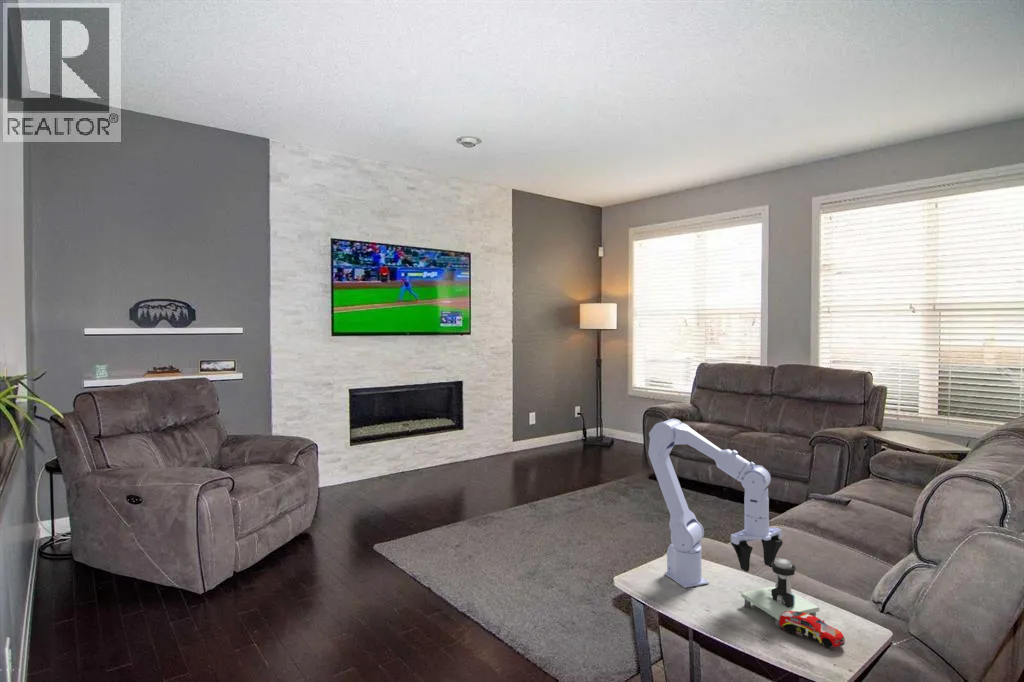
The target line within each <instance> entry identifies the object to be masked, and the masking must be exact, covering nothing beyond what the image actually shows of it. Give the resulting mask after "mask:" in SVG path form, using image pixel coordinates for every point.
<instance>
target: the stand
mask: <svg viewBox="0 0 1024 682" xmlns="http://www.w3.org/2000/svg"><path fill="white" fill-rule="evenodd" d="M774 588H776V587H775V585H774V586H769V587H763V588H758V589H754V590H749V591H742V592H741V595H740V596H741V598H742V599H744V607H746V608H751V606H752V605H754V606H756V607H757V608H758V609H760V610H762V611H764V612H765V613H767V614H768V615H770V616H771V617H773V618H775V627H777V628H779V629H780V628H782V627H781V626H780V625H779V620H780V616H781V614H782V613H783V612H785V611H798V612H803V613H807V614H810V615H813V616H815V617H817V615H816V614H817V612H820V606H818V605H816V604H814V603H812V602H811V601H809V600H807V599H806V598H803V597H802V596H800V595H798V594H797V593H794V592H793V591H792V594H794V596H795V605H794V606H792V607H789V608H788V607H786V606H785V605H783V604H779V603H778V602H777V601H775V600H773V597H772V596H771V594H772V593H771V592H770V591H771V590H772V589H774ZM769 589H770V590H769ZM768 590H769V591H768ZM768 593H771V594H770V595H769V594H768ZM751 604H752V605H751ZM782 629H783V628H782Z"/></svg>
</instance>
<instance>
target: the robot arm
mask: <svg viewBox="0 0 1024 682" xmlns="http://www.w3.org/2000/svg"><path fill="white" fill-rule="evenodd" d="M648 436H649V444H648V453H647V454H648V457H649V460H650V463H651V465H652V466H651V467H652V468H653V471H654V474H655V477H656V480H657V482H658V485H659V488H660V491H661V493H662V496H663V499H664V502H665V504H666V507H667V510H668V513H669V515H670V517H669V518H670V519H669V523H668V524H669V526H668V527H669V529H670V541H671V543H670V544H669V545H668V547H667V550H666V571H664V575H666V576H667V577H668V578H670V579H671V580H673V581H674V582H676V583H677V584H679V586H681V587H683V588H685V589H686V588H692V587H698V586H701V585H703V586H704V585H707V584H709V583H710V581H709V580H707V579H705V578H704V577H703V575H702V573H703V571H702V564H703V563H702V545H701V541H702V540H703V538H704V535H705V530H704V529H705V528H704V527H703V525H702V524H701V523H700V522H699V521H698V520H697V517H696V515H695V513H694V512H693V511H692V510H690V508H689V506H688V502H687V501H686V498H685V495H684V493H683V490H682V487H681V484H680V481H679V479H678V476H677V474H676V471H675V468H674V465H673V463H672V460H671V458H670V454H671V452H672V450H673V448H674V446H675V445H676V446H677V445H678V446H679V445H688V446H690V447H692V448H693V449H695V450H697V451H698V452H700V453H702V454H704V455H705V456H707V457H709V458H710V459H712V460H714V461H715V464H716V467H717V469H720V470H721V471H723V473H725V474H727V475H729V476H730V477H731V478H733V479H734V480H736V481H737V482H740V483H741V486H742V488H743V489H744V496H743V497H744V498H743V499H744V500H743V501H744V503H743V504H744V507H743V508H744V509H743V511H744V515H743V518H744V520H743V521H744V522H743V523H744V529H742V530H740V531H738V532H736V533H731V534H730V544H731V545H732V548H733V549H734V551H735V553H736V555H737V559H738V562H739V566H740V569H741V570H742V571H744V572H746V573H747V572H749V571H750V562H751V561H750V560H751V554H752V551H753V547H752V546H750V545H749V543H748V542H752V541H758V540H760V541H761V544H762V549H763V563H764V565H766V566H767V567H769V568H772V566H771V562H773V561H775V559H776V557H777V554H778V552H779V550H780V548H781V547H782V546H783V543H784V542H783V540H782V539H780V538H782V537H783V530H782V529H781V528H778V527H770V512H769V511H770V508H769V507H770V506H769V505H770V499H769V488H768V486H769V485H770V483H771V480H772V477H771V474H770V472H769V471H768V470H767V469H766V468H765V467H764V466H763V465H761V464H760V465H759V464H756V463H754V462H753V461H751V462H750V461H749V460H747V459H745V458H744V457H742V456H741V455H739V451H737V450H736V449H733V450H731V449H729V448H726V449H721V448H720V447H719V446H717V445H715V444H714V443H713V442H711V441H710V440H708V438H706V437H704V436H702V435H701V434H700V433H698V432H697V431H696V430H694V429H693V428H691V427H690V426H689V425H688V424H687V423H683V422H681V420H680V419H677V418H669V419H667V420H665V421H661V422H657V423H655V424H654V425H653V426H652V428H651V429H650V431H649V432H648Z"/></svg>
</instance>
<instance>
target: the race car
mask: <svg viewBox="0 0 1024 682" xmlns="http://www.w3.org/2000/svg"><path fill="white" fill-rule="evenodd" d="M779 625H780V626H781V627H782V629H783V630H786V631H787V632H788V634H796V635H799V636H801V637H804V638H806V639H808V640H812V641H815V642H817V643H820V644H823V646H824V647H825V648H828V649H830V648H840V647H842V646H844V645H845V642H846V640H845V636H844V634H843V633H842V631H840V630H839V629H837V628H835V627H834V626H831V625H829V624H827V623H826V622H825V620H822V619H820V618H818V617H817V616H816V617H815V616H813V615H810V614H807V613H803V612H798V611H785V612H783V613H782V614H781V616H780V620H779Z"/></svg>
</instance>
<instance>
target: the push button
mask: <svg viewBox="0 0 1024 682" xmlns="http://www.w3.org/2000/svg"><path fill="white" fill-rule="evenodd" d="M771 566H772V567H771V570H772V572H773V573H775V585H774V586H775V587H776V588H774V589H772V590H771V591H770V592H771V593H772V594H771V593H768V594H769V595H770V594H771V596H772V597H773V600H775V601H777V602H778V603H779V604H783V605H785V606H786V607H788V608H789V607H792V606H794V605H795V596H794V594H795V593H794V594H792V592H793V591H792V576H794V575H795V573H796V572H795V571H796V565H795V564H793V563H792V561H791V560H790V559H786V558H782V557H780V558H778V557H777V558H775V560H774V561H773V562H771ZM769 590H770V589H769ZM769 590H768V591H769Z"/></svg>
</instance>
